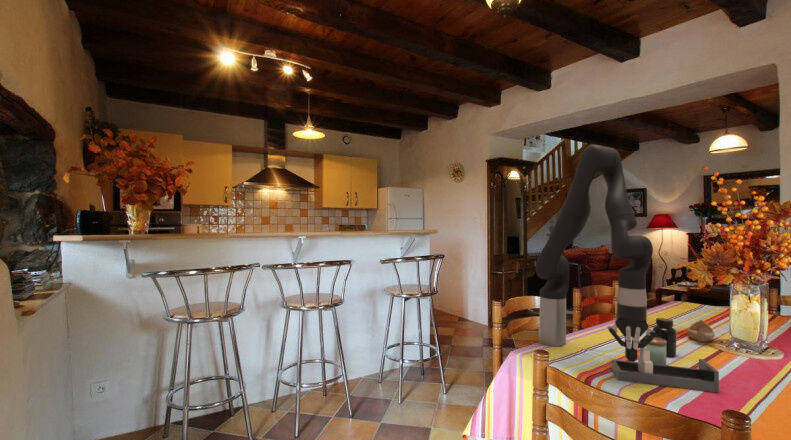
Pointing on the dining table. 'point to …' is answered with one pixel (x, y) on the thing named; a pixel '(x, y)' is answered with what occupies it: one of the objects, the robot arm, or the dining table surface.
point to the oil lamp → (701, 331)
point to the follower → (645, 361)
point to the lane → (670, 375)
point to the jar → (657, 351)
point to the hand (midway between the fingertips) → (631, 360)
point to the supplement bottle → (666, 335)
